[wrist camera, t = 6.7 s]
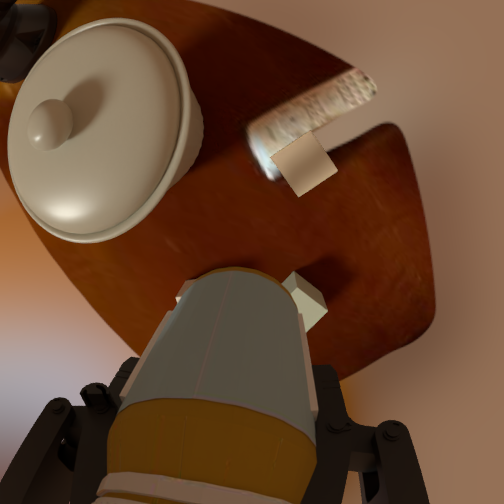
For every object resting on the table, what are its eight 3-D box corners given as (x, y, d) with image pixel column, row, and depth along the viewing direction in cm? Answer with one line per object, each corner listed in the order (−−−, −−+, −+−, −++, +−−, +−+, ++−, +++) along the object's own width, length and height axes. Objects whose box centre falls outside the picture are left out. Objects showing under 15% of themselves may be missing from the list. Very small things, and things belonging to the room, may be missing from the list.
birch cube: (270, 157, 33) (270, 157, 28) (304, 134, 32) (310, 130, 27) (294, 191, 34) (298, 197, 29) (328, 168, 33) (338, 170, 28)
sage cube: (268, 297, 39) (268, 316, 34) (293, 270, 37) (297, 287, 32) (296, 317, 39) (299, 338, 35) (321, 292, 38) (327, 311, 33)
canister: (229, 202, 35) (176, 267, 15) (100, 209, 36) (-15, 262, 16) (225, 59, 29) (175, -40, 9) (96, 82, 30) (-20, 54, 10)
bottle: (291, 253, 15) (338, 602, 1) (303, 355, 18) (323, 596, 3) (168, 270, 16) (2, 513, 2) (198, 365, 18) (134, 578, 4)
